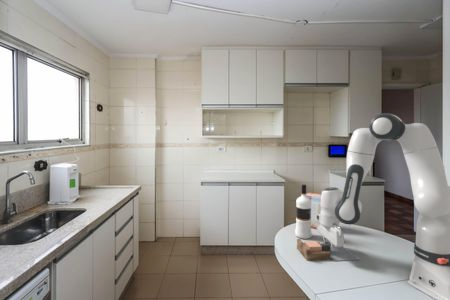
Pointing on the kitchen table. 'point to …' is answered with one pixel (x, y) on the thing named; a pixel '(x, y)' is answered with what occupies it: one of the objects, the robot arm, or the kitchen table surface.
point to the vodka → (303, 216)
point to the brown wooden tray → (311, 255)
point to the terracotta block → (318, 246)
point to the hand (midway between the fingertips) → (329, 247)
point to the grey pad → (342, 254)
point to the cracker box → (314, 207)
